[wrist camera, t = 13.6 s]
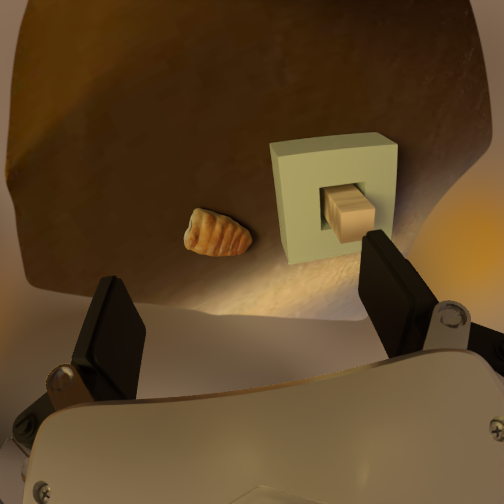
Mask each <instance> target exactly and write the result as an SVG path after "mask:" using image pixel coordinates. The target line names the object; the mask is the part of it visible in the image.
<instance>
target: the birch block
mask: <svg viewBox="0 0 504 504" xmlns="http://www.w3.org/2000/svg"><path fill="white" fill-rule="evenodd" d="M319 195H320V210H321V212H322V213H323V215H324V216H325V218H326V220H327V221H328V223H329V225H330V226H331V228H332V230H333V231H334V233H335V235H336V236H337V238H338V240H339V241H340V243H341V244H343V243H349V242H355V241H362V237H363V236H366V233H367V232H368V231H372V230H373V228H374V217H375V207H374V206H373V205H372V204H371V203H370V202H369V201H368V200H367V199H366V198H365V196H364V195H363V194H362V193H361V192H360V191H359V190H358V189H357V188H356V187H355V186H354V185H353V184H352V183H350V184H342V185H335V186H328V187H321V188H319Z"/></svg>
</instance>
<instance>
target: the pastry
mask: <svg viewBox="0 0 504 504" xmlns="http://www.w3.org/2000/svg"><path fill="white" fill-rule="evenodd" d="M184 243H185V247H186V248H187V249H188V250H193V251H195V252H197V253H198V254H202V255H209V256H218V257H220V256H231V255H239V254H242V253H244V252H245V251H246V250H247V249H248V247H249V245H250V244H251V243H252V238H251V235H250V233H249V231H248V230H247V229H245V228H244V227H243V226H241V225H240V224H239V223H237V222H235V221H233V220H232V219H231V218H230V217H228V216H224V215H221V214H218V213H215V212H213V211H210V210H206V209H202V208H197V209H195V210H194V212H193V214H192V216H191V219H190V223H189V228H188V229H187V230H186V232H185V236H184Z"/></svg>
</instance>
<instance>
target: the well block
mask: <svg viewBox="0 0 504 504" xmlns="http://www.w3.org/2000/svg"><path fill="white" fill-rule="evenodd" d="M270 150H271V158H272V166H273V174H274V182H275V190H276V198H277V207H278V216H279V224H280V233H281V241H282V245H283V248H284V251H285V254H286V257H287V260H288V263H289V265H292V264H297V263H303V262H308V261H314V260H319V259H325V258H330V257H336V256H341V255H346V254H352V253H357V252H361V249H362V241H355V242H349V243H343V244H341V243H340V241H339V240H338V238H337V236H336V235H335V233H334V231H333V230H332V228H331V226H330V225H329V223H328V221H327V220H326V218H325V216H324V215H323V213H322V212H321V210H320V195H319V188H321V187H328V186H335V185H342V184H350V183H352V184H353V185H354V186H355V187H356V188H357V189H358V190H359V191H360V192H361V193H362V194H363V195H364V196H365V198H366V199H367V200H368V201H369V202H370V203H371V204H372V205H373V206H374V207H375V217H374V228H373V230H378V229H382V230H383V231H384V232H385V234H386V235H387V236H388V237H389V239H390V240H391V236H392V226H393V216H394V205H395V192H396V176H397V153H398V144H396V143H395V142H393V141H391V140H389V139H388V138H386V137H384V136H382V135H381V134H379V133H377V132H372V133H358V134H346V135H334V136H324V137H315V138H306V139H298V140H290V141H283V142H275V143H270Z"/></svg>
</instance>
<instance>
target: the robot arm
mask: <svg viewBox="0 0 504 504" xmlns="http://www.w3.org/2000/svg"><path fill="white" fill-rule="evenodd" d="M358 293H359V297H360V299H361V301H362V303H363V305H364V307H365V309H366V311H367V313H368V315H369V317H370V319H371V321H372V323H373V325H374V327H375V329H376V331H377V334H378V336H379V338H380V340H381V342H382V344H383V346H384V348H385V351H386V353H387V355H388V357H389V359H387V360H383V361H379V362H375V363H371V364H367V365H364V366H359V367H356V368H351V369H347V370H343V371H339V372H334V373H330V374H326V375H321V376H317V377H312V378H307V379H302V380H297V381H291V382H286V383H280V384H275V385H269V386H263V387H257V388H250V389H243V390H235V391H228V392H221V393H211V394H202V395H192V396H181V397H168V398H153V399H137V400H136V394H137V387H138V379H139V373H140V366H141V360H142V353H143V348H144V342H145V336H146V328H145V325H144V323H143V321H142V319H141V317H140V316H139V313H138V312H137V310H136V308H135V306H134V304H133V302H132V300H131V298H130V296H129V294H128V292H127V290H126V288H125V285H124V283H123V281H122V280H121V279H120V278H119V279H118V278H117V277H116V276H108V277H103V278H101V280H100V282H99V284H98V287H97V289H96V292H95V294H94V297H93V299H92V302H91V304H90V307H89V310H88V312H87V315H86V318H85V320H84V323H83V326H82V329H81V332H80V334H79V337H78V340H77V343H76V346H75V349H74V352H73V355H72V361H71V364H61V365H58V366H57V367H55V368H54V369H53V370H52V371H51V372H50V373H49V375H48V377H47V379H46V390H47V392H46V393H45V394H44V395H43V396H42V397H40V398H39V399H38V400H37V401H35V402H34V403H33V404H32V405H31V406H29V407H28V408H27V409H26V410H24V411H23V412H22V413H21V414H20V415H19V416H18V417H17V418H16V420H15V422H14V424H13V436H14V437H13V438H10V437H9V438H8V440H7V441H6V442H5V444H4V445H3V447H2V448H1V450H0V499H1V500H2V501H3V503H4V504H504V334H503V333H501V332H498V331H495V330H492V329H489V328H487V327H484V326H481V325H478V324H476V323H473V322H471V316H470V313H469V311H468V310H467V309H466V308H465V307H464V306H463V305H462V304H460V303H458V302H455V301H450V300H448V301H442V302H440V303H439V302H438V300H437V299H436V297H435V296H434V294H433V293H432V292H431V290H430V289H429V287H428V286H427V285H426V283H425V282H424V281H423V279H422V278H421V277H420V275H419V274H418V272H417V271H416V270H415V268H414V267H413V266H412V264H411V263H410V262H409V261H408V260H407V259H405V258H404V257H403V255H402V254H401V253H400V251H399V250H398V249H397V248H396V246H395V245H394V244H393V242H392V241H391V240H390V239H389V237H388V236H387V235H386V234H385V232H384V231H383V230H382V229H378V230H372V231H368V232H367V233H366V236H363V237H362V249H361V263H360V275H359V285H358Z"/></svg>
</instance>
